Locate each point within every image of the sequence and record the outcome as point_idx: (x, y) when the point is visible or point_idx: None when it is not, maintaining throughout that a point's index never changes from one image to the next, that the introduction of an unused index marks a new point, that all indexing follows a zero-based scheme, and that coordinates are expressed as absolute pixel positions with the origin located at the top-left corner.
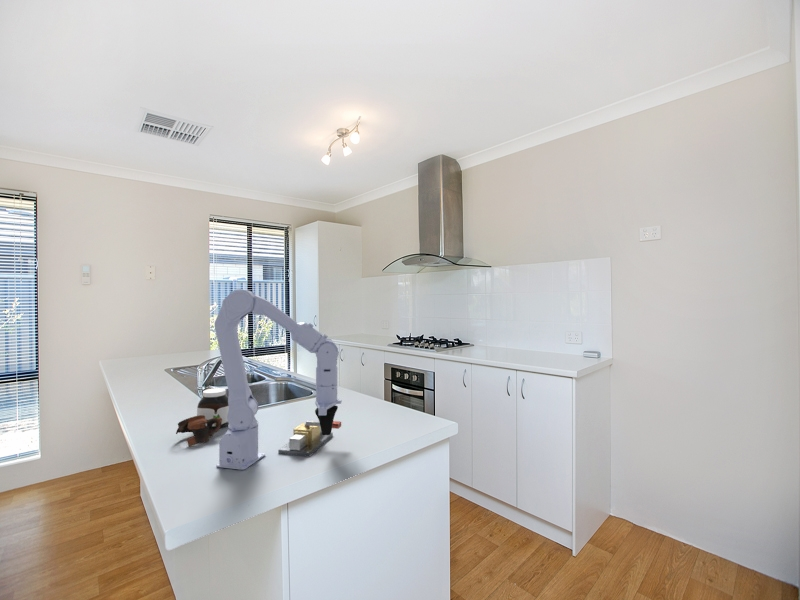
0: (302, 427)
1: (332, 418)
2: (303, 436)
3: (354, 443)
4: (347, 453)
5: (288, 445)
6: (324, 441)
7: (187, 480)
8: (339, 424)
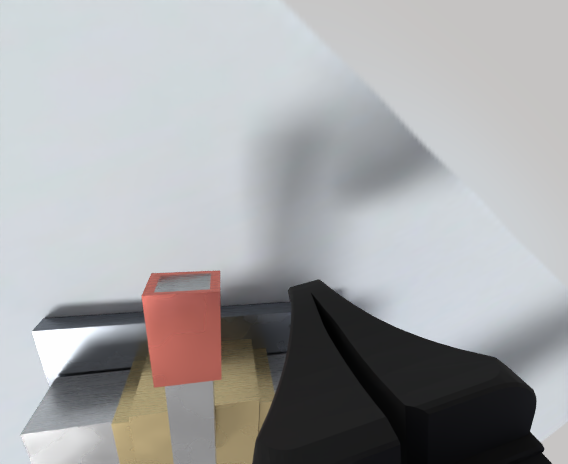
0: (218, 459)
1: (427, 341)
2: None
3: (109, 153)
4: (272, 147)
5: None
6: None
7: None
8: (193, 286)
